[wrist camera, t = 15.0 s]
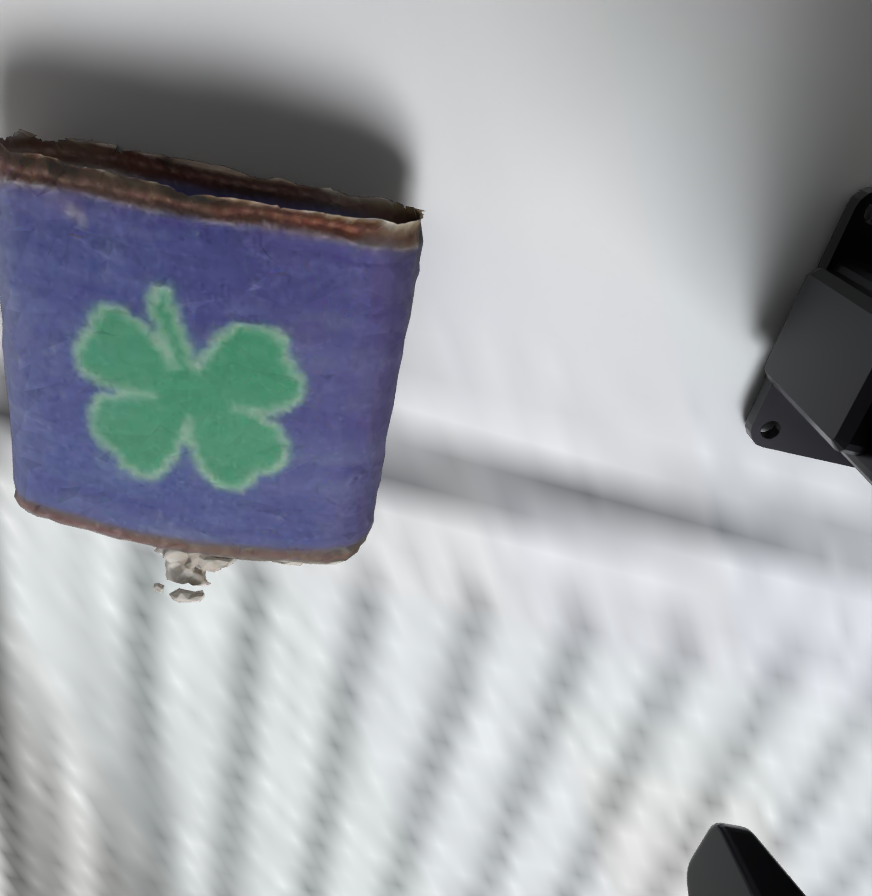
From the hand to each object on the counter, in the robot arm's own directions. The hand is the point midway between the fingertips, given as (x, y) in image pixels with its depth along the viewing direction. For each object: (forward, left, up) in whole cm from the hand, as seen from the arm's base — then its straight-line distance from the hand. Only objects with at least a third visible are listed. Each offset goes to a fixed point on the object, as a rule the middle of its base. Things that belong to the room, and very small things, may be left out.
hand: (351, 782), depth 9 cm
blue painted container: (+5, -5, -11) cm, 13 cm away
